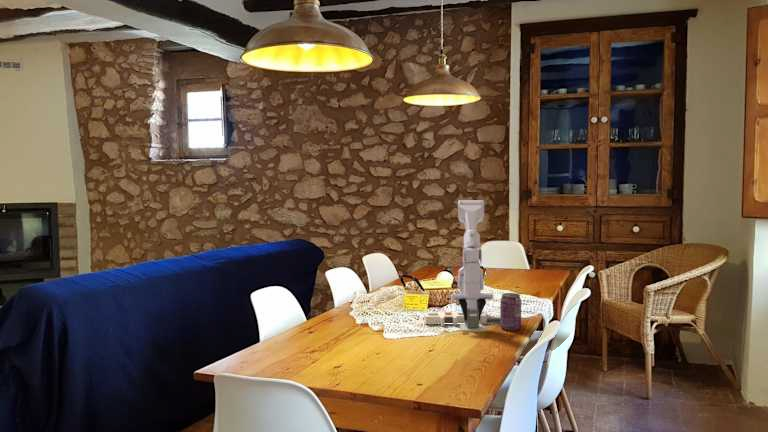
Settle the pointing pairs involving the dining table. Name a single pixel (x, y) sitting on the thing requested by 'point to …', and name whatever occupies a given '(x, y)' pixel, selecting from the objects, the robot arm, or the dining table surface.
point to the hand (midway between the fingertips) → (471, 320)
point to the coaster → (465, 329)
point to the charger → (472, 318)
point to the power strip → (452, 318)
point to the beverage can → (510, 311)
